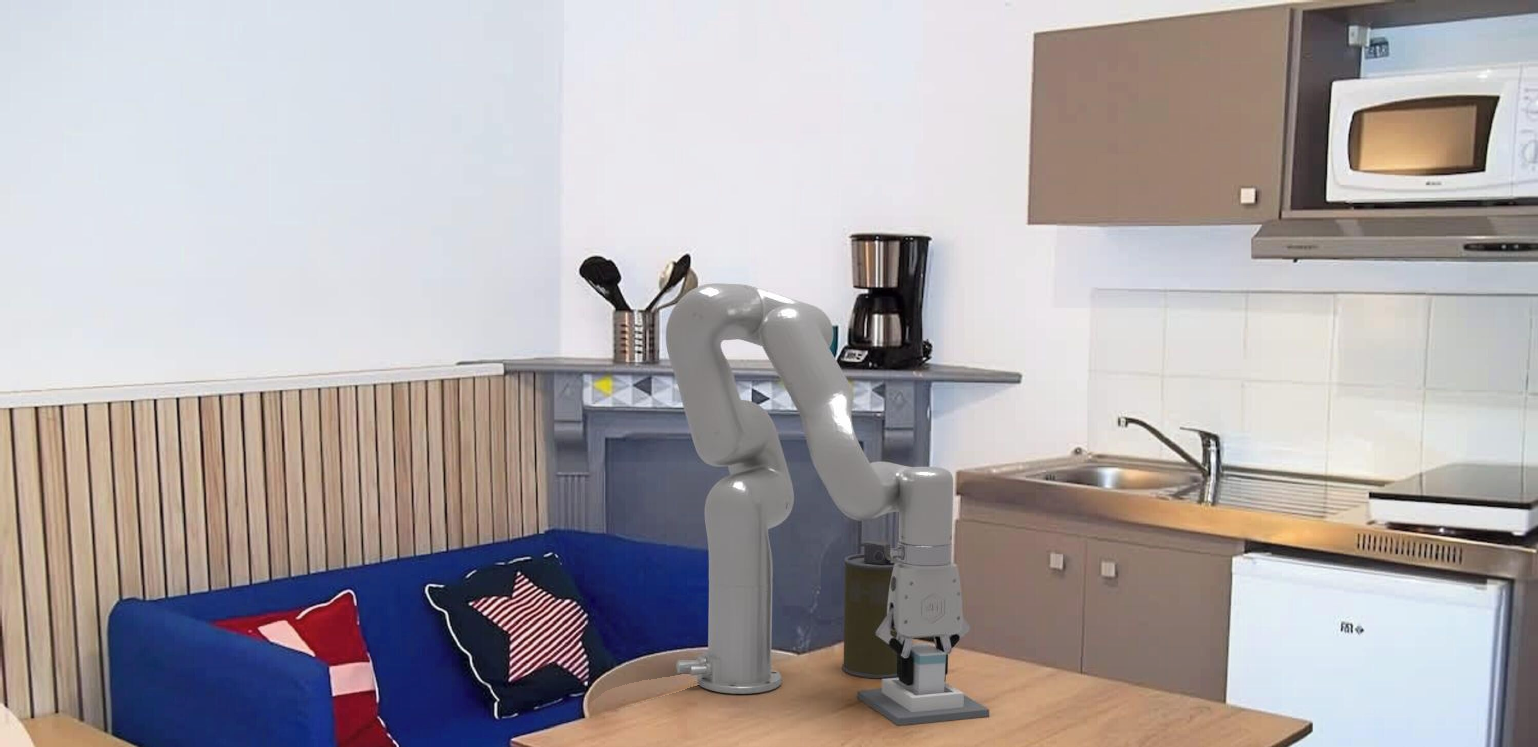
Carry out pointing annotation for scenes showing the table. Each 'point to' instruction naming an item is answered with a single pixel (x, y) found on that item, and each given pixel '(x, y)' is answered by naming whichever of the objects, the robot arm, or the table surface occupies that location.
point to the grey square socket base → (920, 704)
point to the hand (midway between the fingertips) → (922, 679)
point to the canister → (868, 612)
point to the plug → (927, 670)
